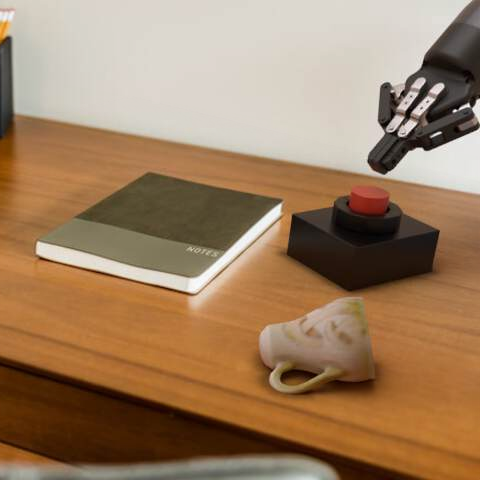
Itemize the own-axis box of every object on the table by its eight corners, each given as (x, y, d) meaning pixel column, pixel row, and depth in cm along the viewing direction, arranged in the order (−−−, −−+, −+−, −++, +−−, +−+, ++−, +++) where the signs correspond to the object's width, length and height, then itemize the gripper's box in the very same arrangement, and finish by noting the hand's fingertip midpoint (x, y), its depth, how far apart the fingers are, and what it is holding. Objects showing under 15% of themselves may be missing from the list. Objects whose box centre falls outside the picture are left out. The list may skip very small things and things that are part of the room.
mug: (245, 346, 81) (310, 257, 79) (336, 409, 80) (404, 320, 78) (240, 369, 74) (311, 271, 72) (340, 438, 73) (415, 341, 71)
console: (366, 240, 105) (375, 184, 103) (431, 274, 97) (443, 214, 95) (285, 257, 100) (293, 197, 97) (348, 294, 92) (359, 231, 89)
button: (368, 200, 98) (371, 183, 98) (394, 213, 95) (398, 195, 94) (340, 205, 97) (343, 187, 96) (366, 218, 93) (370, 200, 93)
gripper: (418, 10, 98) (317, 129, 97) (521, 32, 88) (408, 166, 87) (443, 56, 103) (346, 170, 102) (543, 82, 92) (436, 210, 91)
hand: (375, 168), depth 94 cm, fingers closed
